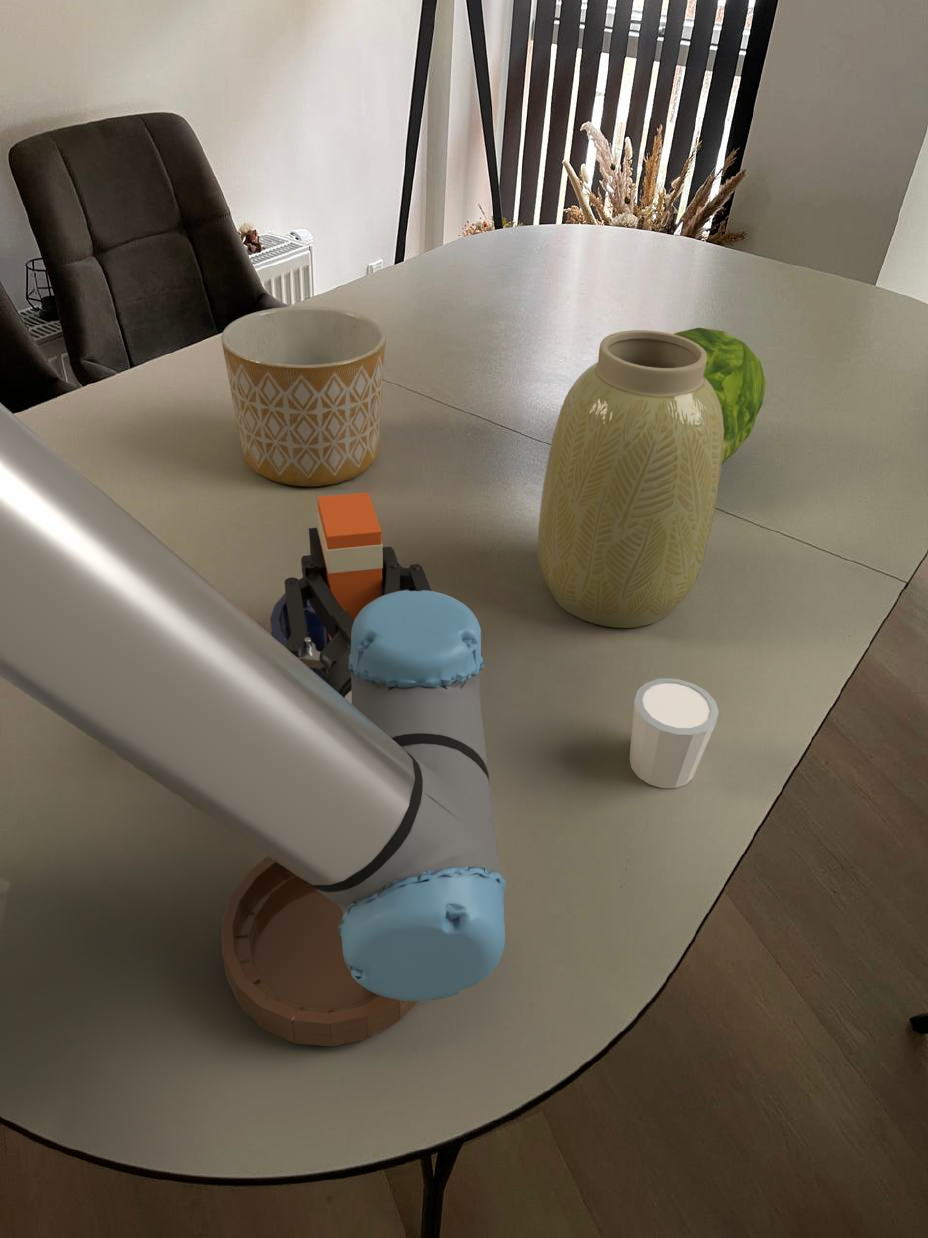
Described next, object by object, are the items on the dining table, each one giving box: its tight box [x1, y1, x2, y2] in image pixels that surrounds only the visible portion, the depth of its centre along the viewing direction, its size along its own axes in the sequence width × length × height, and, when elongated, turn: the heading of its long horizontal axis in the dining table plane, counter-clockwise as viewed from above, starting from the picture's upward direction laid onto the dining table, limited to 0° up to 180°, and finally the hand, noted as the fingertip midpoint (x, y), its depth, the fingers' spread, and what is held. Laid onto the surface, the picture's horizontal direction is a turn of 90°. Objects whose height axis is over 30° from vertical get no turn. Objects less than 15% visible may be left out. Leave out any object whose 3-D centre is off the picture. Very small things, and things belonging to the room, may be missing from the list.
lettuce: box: [673, 327, 767, 466], centre depth 120 cm, size 17×23×16 cm
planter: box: [220, 305, 387, 487], centre depth 118 cm, size 19×19×16 cm
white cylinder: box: [629, 677, 720, 789], centre depth 80 cm, size 7×7×7 cm
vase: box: [537, 329, 724, 629], centre depth 94 cm, size 17×17×27 cm
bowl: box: [220, 856, 420, 1047], centre depth 65 cm, size 15×15×4 cm
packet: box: [316, 492, 383, 640], centre depth 84 cm, size 5×7×13 cm
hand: (341, 537), depth 88 cm, fingers closed on packet, 4 cm apart
